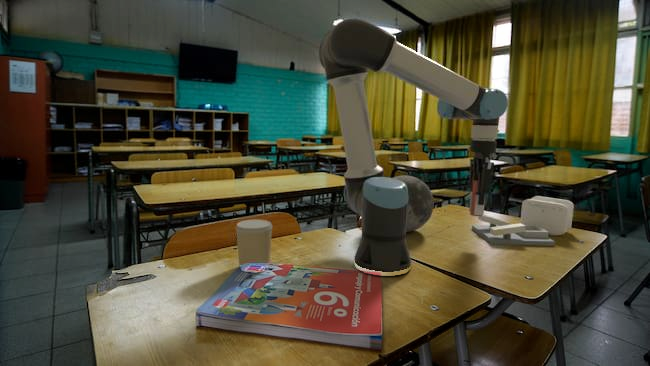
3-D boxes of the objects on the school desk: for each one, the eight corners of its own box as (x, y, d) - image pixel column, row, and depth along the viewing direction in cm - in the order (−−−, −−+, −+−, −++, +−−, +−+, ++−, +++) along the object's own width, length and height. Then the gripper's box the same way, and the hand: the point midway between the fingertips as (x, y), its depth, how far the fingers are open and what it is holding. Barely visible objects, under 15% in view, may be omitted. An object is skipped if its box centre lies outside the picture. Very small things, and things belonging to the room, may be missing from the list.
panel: (491, 244, 123) (492, 234, 122) (471, 228, 141) (472, 219, 140) (554, 245, 123) (555, 235, 122) (526, 230, 140) (527, 220, 140)
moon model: (368, 234, 132) (370, 177, 129) (382, 220, 150) (385, 170, 147) (427, 242, 124) (431, 181, 121) (435, 227, 143) (438, 174, 139)
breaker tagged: (494, 236, 124) (494, 230, 123) (490, 233, 127) (490, 227, 127) (525, 231, 123) (525, 225, 123) (520, 228, 126) (520, 223, 126)
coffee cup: (259, 258, 107) (258, 217, 105) (279, 268, 100) (279, 224, 99) (229, 267, 101) (228, 223, 99) (249, 277, 94) (248, 230, 92)
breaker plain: (481, 220, 134) (482, 215, 134) (477, 218, 137) (479, 213, 137) (507, 228, 135) (509, 223, 134) (504, 226, 138) (506, 220, 137)
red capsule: (472, 216, 121) (475, 181, 119) (468, 213, 124) (471, 180, 122) (483, 216, 121) (487, 182, 119) (479, 213, 124) (482, 180, 122)
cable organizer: (573, 232, 138) (577, 201, 136) (563, 238, 131) (567, 205, 129) (529, 224, 149) (533, 195, 147) (518, 228, 142) (521, 198, 141)
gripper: (508, 141, 110) (499, 220, 114) (485, 139, 127) (478, 207, 130) (482, 140, 110) (473, 218, 114) (462, 138, 127) (456, 207, 131)
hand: (476, 212), depth 122 cm, fingers closed on red capsule, 3 cm apart
